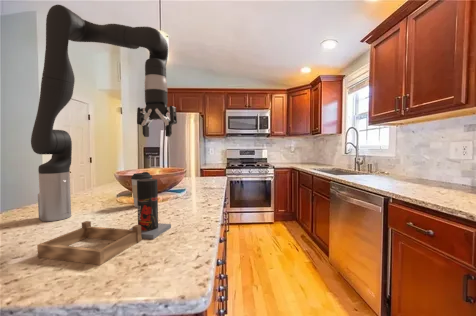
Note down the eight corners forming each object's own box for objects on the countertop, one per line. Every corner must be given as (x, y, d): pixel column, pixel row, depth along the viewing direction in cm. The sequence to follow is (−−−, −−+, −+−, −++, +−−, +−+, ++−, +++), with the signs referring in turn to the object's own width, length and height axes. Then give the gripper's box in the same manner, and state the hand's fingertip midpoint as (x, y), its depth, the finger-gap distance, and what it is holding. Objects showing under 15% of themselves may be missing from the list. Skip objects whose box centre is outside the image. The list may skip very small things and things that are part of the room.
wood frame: (36, 256, 58) (36, 239, 57) (86, 235, 71) (86, 221, 71) (101, 265, 53) (101, 245, 53) (141, 240, 67) (141, 225, 67)
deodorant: (162, 225, 76) (161, 179, 76) (149, 231, 71) (148, 181, 70) (147, 224, 78) (146, 178, 78) (133, 229, 73) (132, 180, 72)
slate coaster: (123, 236, 71) (123, 232, 71) (143, 225, 80) (143, 222, 80) (153, 239, 68) (153, 235, 68) (170, 227, 78) (170, 224, 78)
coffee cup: (145, 208, 103) (144, 173, 103) (127, 207, 105) (126, 173, 105) (156, 203, 112) (156, 171, 112) (139, 202, 114) (138, 171, 113)
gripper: (131, 89, 82) (132, 136, 82) (169, 86, 78) (170, 135, 79) (144, 93, 89) (145, 137, 90) (179, 91, 86) (180, 136, 86)
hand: (157, 136), depth 84 cm, fingers open, 8 cm apart
